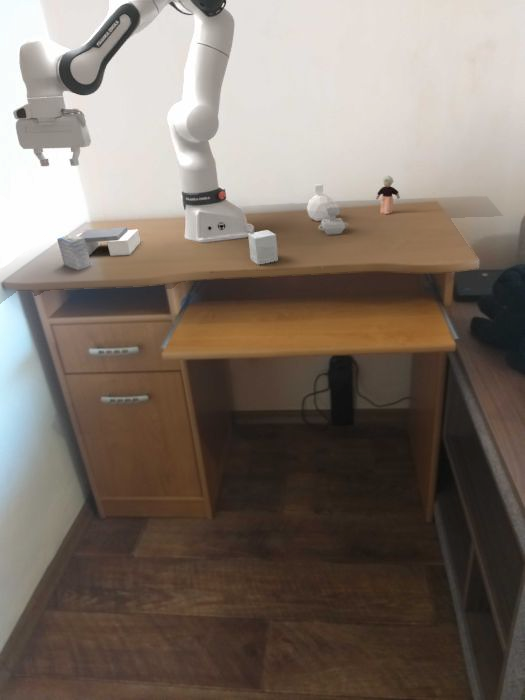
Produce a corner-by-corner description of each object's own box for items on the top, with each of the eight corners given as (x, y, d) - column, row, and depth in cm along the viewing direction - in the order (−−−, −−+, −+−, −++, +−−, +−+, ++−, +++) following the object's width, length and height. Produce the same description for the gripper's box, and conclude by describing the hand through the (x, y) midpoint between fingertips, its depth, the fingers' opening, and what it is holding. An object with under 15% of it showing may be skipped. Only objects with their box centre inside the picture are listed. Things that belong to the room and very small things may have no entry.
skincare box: (278, 261, 141) (276, 234, 138) (257, 265, 140) (255, 238, 136) (270, 255, 146) (268, 229, 143) (249, 259, 145) (247, 233, 141)
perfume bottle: (308, 219, 179) (306, 182, 173) (335, 217, 177) (334, 181, 172) (306, 225, 171) (304, 188, 165) (334, 224, 170) (334, 186, 164)
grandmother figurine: (375, 216, 174) (376, 177, 168) (375, 214, 177) (376, 175, 171) (399, 216, 172) (401, 176, 167) (398, 213, 176) (400, 173, 170)
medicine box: (92, 267, 150) (85, 237, 146) (78, 272, 147) (70, 241, 143) (78, 263, 155) (70, 234, 151) (64, 267, 152) (56, 238, 148)
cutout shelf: (140, 245, 167) (137, 225, 164) (130, 256, 156) (126, 236, 153) (83, 248, 168) (78, 229, 165) (68, 260, 158) (63, 240, 155)
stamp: (319, 237, 158) (318, 209, 154) (317, 232, 164) (316, 204, 160) (349, 235, 158) (349, 206, 154) (346, 229, 163) (345, 202, 160)
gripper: (89, 107, 136) (99, 163, 143) (23, 110, 142) (36, 164, 148) (75, 108, 131) (86, 167, 137) (7, 112, 136) (21, 168, 143)
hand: (60, 165), depth 143 cm, fingers open, 8 cm apart
